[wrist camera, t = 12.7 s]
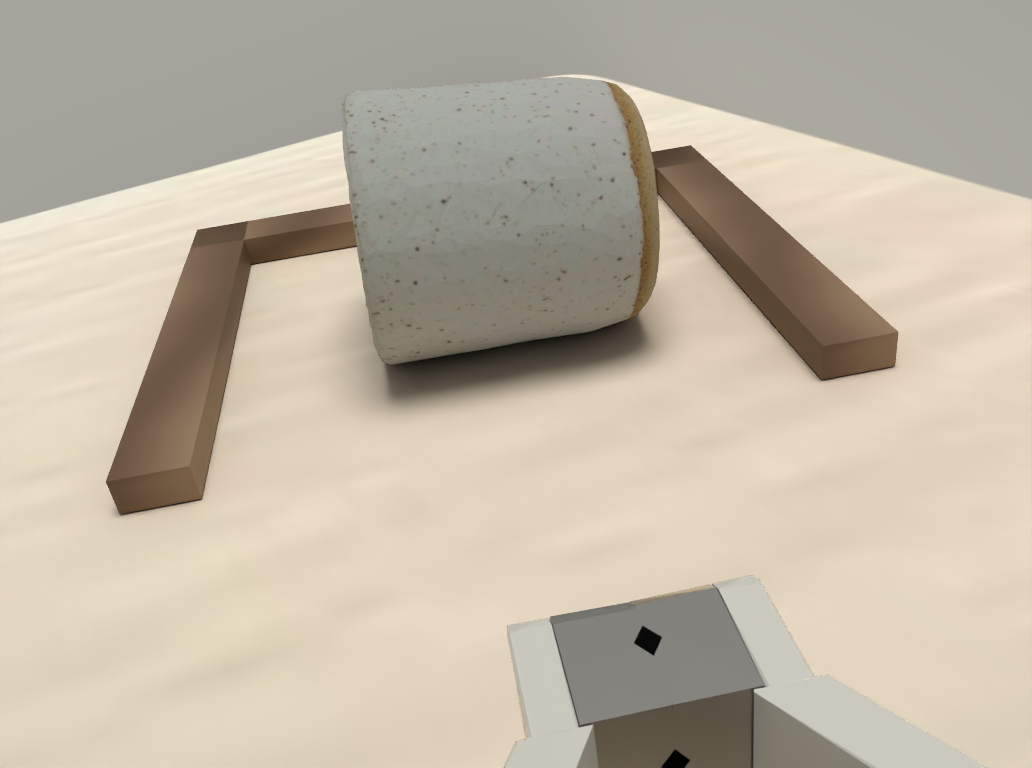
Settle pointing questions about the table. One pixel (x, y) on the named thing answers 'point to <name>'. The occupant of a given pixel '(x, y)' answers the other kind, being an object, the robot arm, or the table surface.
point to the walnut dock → (233, 248)
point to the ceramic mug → (499, 212)
